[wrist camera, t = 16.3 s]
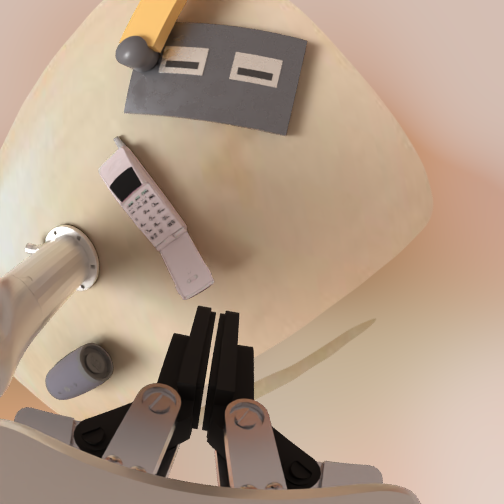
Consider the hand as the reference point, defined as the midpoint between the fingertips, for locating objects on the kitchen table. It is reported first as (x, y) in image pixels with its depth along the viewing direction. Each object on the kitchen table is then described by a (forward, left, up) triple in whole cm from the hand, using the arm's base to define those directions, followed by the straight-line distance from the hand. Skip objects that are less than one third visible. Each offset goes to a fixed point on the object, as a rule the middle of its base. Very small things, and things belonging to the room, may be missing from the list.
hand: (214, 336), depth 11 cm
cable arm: (-15, +26, -27) cm, 40 cm away
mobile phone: (-12, -5, -30) cm, 32 cm away
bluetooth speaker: (-30, -44, -29) cm, 61 cm away
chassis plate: (-7, +16, -29) cm, 34 cm away
